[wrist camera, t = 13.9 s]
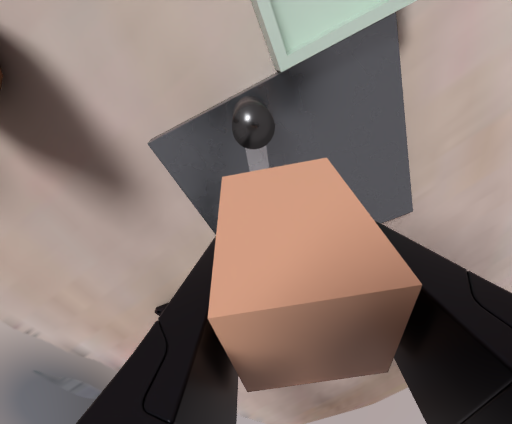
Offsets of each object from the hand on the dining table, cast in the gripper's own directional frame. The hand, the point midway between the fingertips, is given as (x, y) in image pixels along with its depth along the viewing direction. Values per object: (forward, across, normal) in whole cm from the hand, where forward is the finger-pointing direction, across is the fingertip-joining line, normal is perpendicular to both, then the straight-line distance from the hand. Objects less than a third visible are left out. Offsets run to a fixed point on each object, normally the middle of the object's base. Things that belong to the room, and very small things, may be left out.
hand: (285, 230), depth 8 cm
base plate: (+12, -2, +5) cm, 13 cm away
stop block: (+1, 0, 0) cm, 1 cm away
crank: (+11, +1, +5) cm, 12 cm away
